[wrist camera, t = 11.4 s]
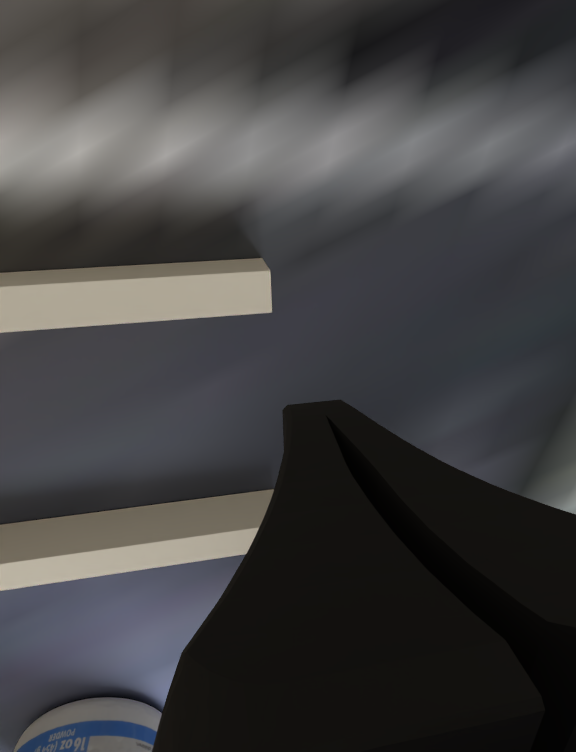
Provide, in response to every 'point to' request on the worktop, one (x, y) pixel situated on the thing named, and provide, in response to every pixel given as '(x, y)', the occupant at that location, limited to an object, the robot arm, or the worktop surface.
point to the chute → (145, 523)
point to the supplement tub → (93, 727)
